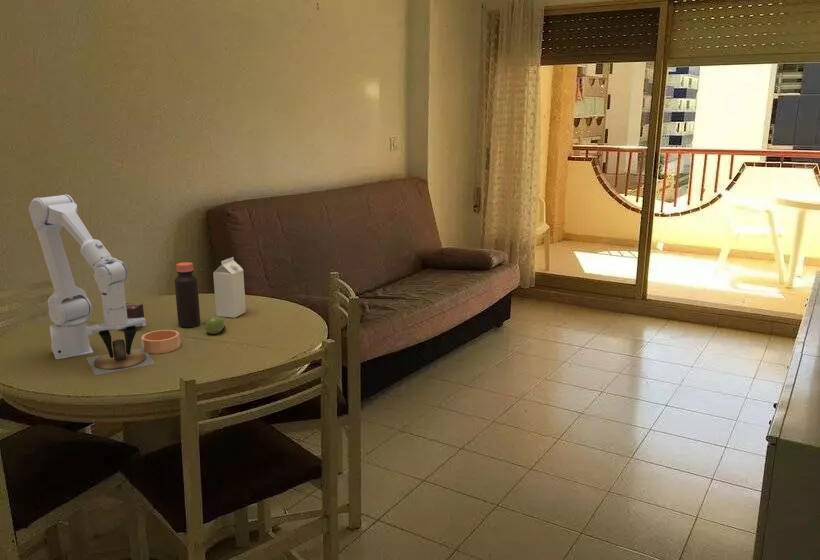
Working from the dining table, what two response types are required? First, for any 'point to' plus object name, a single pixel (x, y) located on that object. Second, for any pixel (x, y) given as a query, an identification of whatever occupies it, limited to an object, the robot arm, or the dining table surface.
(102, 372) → the mat
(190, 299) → the bottle
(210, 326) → the pear
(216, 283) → the milk carton
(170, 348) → the bowl
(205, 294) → the dining table surface
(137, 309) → the box
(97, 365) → the lid
